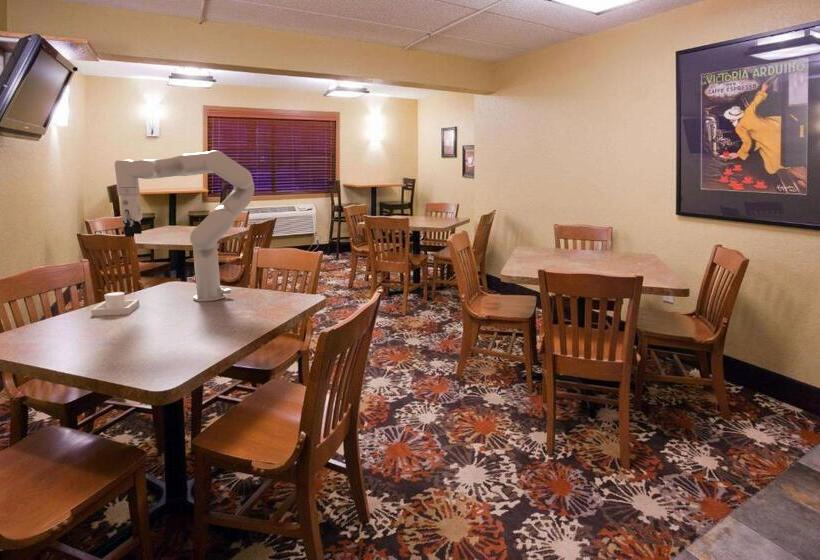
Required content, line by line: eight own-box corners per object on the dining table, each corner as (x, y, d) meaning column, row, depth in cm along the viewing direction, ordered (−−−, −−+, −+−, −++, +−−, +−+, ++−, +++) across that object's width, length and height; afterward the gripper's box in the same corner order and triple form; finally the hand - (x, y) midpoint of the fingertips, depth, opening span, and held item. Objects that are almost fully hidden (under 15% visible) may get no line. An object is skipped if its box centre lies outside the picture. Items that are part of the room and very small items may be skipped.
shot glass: (130, 310, 194) (128, 293, 192) (112, 314, 188) (109, 296, 186) (120, 307, 197) (118, 290, 196) (102, 311, 192) (100, 294, 190)
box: (139, 305, 200) (138, 299, 200) (129, 314, 188) (128, 307, 188) (104, 307, 198) (103, 301, 197) (91, 316, 186) (91, 309, 185)
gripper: (132, 192, 187) (137, 237, 191) (145, 191, 204) (150, 232, 207) (110, 192, 186) (115, 238, 189) (125, 191, 202) (130, 233, 206)
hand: (133, 235), depth 198 cm, fingers open, 9 cm apart
